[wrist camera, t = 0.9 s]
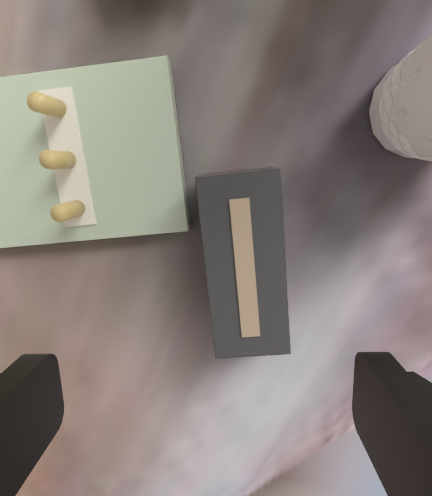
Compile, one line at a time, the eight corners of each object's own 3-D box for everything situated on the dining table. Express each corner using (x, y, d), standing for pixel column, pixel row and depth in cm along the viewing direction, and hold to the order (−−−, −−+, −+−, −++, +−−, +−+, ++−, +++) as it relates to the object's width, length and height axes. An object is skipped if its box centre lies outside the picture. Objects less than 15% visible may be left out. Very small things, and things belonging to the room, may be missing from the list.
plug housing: (270, 167, 26) (280, 168, 21) (279, 315, 29) (291, 355, 23) (203, 174, 27) (194, 177, 21) (219, 319, 30) (215, 359, 24)
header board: (170, 61, 25) (157, 40, 21) (190, 227, 28) (182, 239, 24) (-41, 88, 26) (-96, 74, 22) (-2, 244, 29) (-44, 259, 25)
